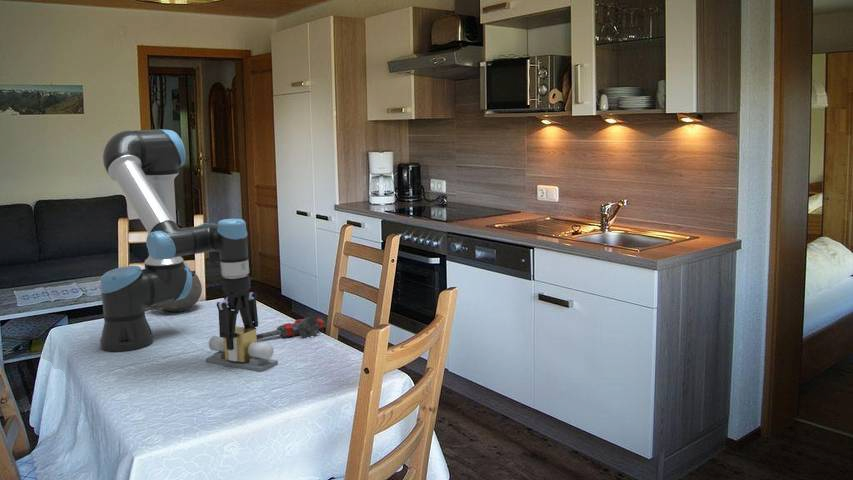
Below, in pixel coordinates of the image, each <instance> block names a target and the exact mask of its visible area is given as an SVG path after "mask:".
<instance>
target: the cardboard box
mask: <svg viewBox="0 0 853 480" xmlns="http://www.w3.org/2000/svg"><path fill="white" fill-rule="evenodd" d="M229 334H230V333H229ZM234 337H235V338H237V350H238V361H239V362H247V361H249V360H250V359H252V358H254V357H251V356H250V355H249V354H248V348H249V345H250V344H251V343H253V342H256V343H258V339H257V328H256V329H253V328H246V327H244V326H235V334H234ZM224 350H225V359H227V360H229V355H228V350H227V344H226V338H224Z"/></svg>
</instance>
